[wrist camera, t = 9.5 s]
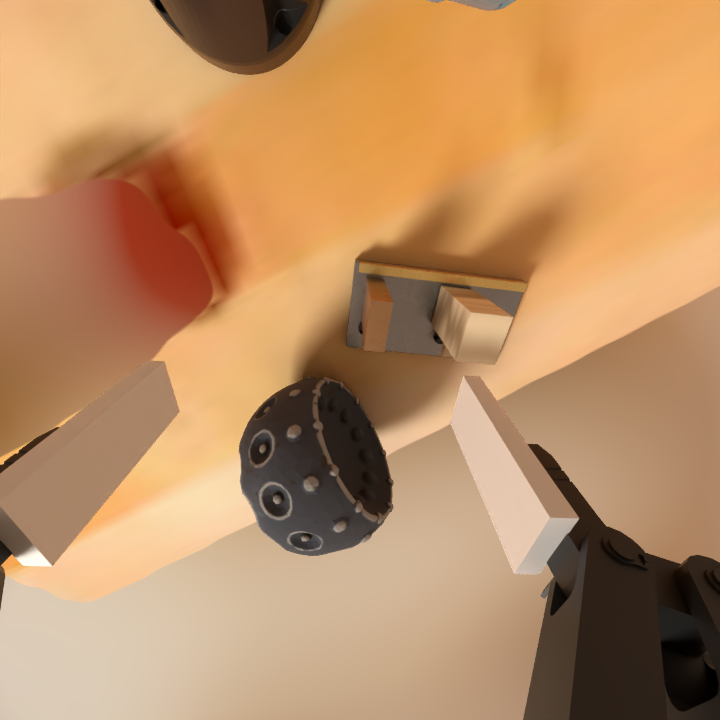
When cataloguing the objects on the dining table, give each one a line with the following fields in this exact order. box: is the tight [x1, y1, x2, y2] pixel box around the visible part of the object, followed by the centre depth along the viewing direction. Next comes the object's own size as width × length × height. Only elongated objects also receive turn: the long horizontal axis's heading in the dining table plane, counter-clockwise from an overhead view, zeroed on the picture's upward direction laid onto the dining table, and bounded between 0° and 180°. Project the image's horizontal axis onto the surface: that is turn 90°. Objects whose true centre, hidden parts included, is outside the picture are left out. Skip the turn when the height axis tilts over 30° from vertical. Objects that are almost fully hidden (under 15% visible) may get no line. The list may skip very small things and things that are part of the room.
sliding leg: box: [431, 285, 513, 365], centre depth 32 cm, size 8×4×10 cm, turn 173°
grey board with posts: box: [346, 260, 528, 362], centre depth 33 cm, size 11×21×11 cm, turn 83°
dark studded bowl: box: [239, 376, 393, 556], centre depth 36 cm, size 11×20×20 cm, turn 31°
